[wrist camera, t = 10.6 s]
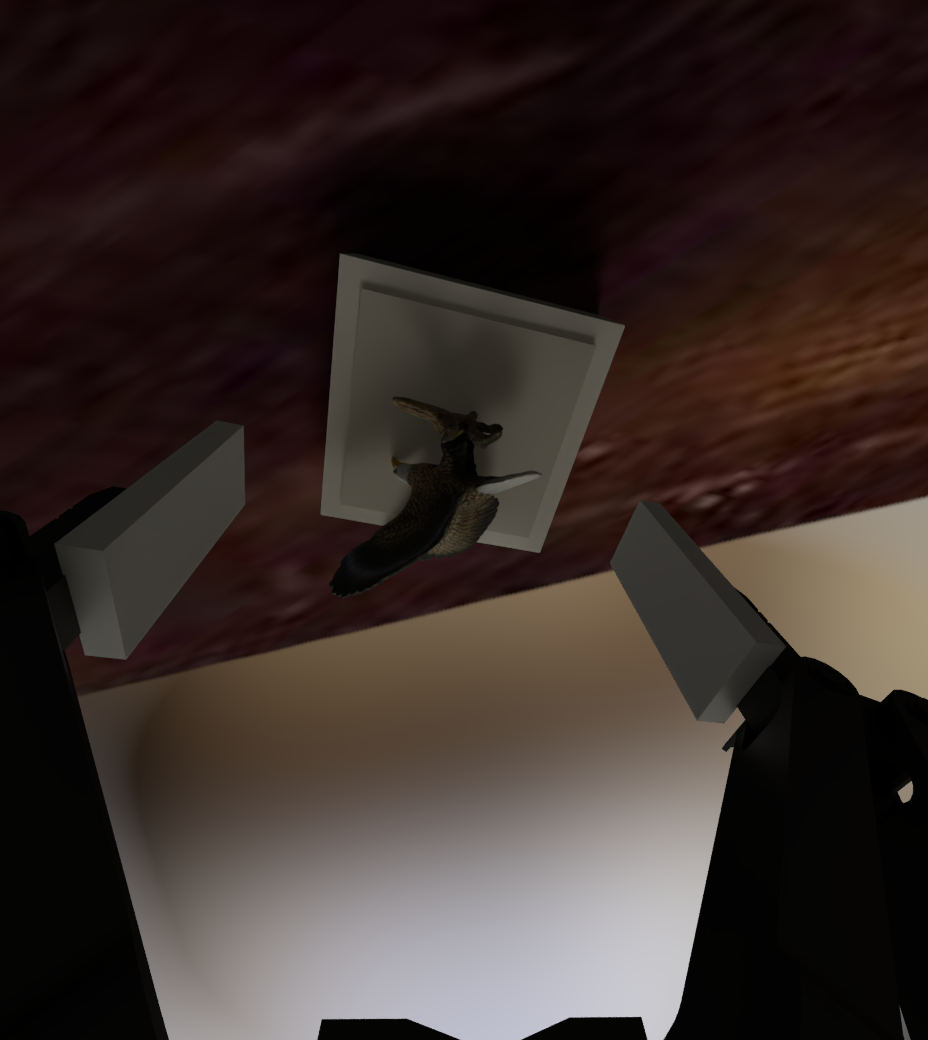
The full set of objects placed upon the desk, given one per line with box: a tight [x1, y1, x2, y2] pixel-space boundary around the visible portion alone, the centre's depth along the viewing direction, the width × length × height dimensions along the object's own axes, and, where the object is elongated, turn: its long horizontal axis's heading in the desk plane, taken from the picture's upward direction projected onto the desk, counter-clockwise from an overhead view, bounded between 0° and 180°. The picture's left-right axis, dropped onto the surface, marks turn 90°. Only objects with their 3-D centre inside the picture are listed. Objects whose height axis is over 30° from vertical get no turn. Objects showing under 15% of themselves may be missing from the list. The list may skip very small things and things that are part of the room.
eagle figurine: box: [329, 397, 542, 598], centre depth 20 cm, size 8×7×9 cm
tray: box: [321, 254, 625, 553], centre depth 23 cm, size 12×12×4 cm
